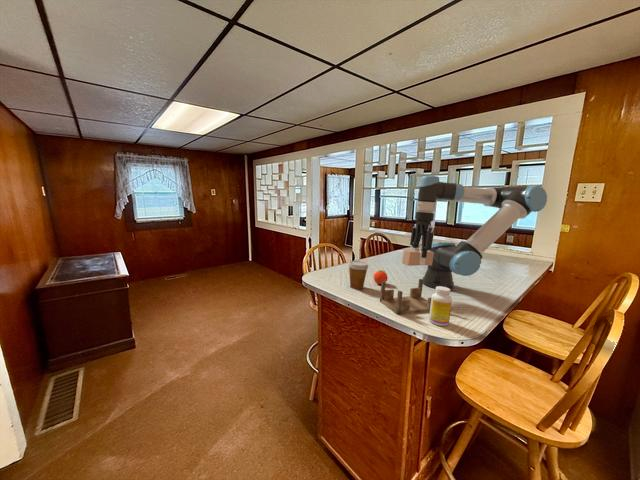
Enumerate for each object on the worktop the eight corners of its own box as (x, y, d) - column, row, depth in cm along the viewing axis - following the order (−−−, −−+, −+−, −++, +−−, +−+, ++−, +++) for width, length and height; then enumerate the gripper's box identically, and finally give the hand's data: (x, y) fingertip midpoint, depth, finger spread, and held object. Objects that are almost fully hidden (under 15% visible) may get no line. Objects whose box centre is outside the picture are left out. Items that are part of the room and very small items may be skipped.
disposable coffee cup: (367, 285, 131) (369, 262, 129) (365, 291, 122) (367, 266, 120) (348, 282, 133) (350, 259, 131) (345, 288, 124) (347, 264, 122)
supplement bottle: (451, 328, 90) (456, 292, 88) (431, 325, 92) (435, 290, 89) (445, 319, 97) (450, 286, 95) (426, 317, 98) (430, 284, 96)
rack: (419, 298, 117) (421, 278, 116) (440, 310, 105) (443, 289, 103) (379, 301, 111) (381, 281, 109) (397, 314, 99) (399, 292, 97)
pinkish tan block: (425, 262, 124) (427, 250, 123) (431, 265, 120) (433, 252, 119) (402, 263, 118) (403, 250, 117) (408, 265, 114) (410, 252, 113)
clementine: (377, 280, 140) (379, 267, 139) (390, 283, 136) (391, 270, 135) (370, 283, 134) (371, 270, 133) (383, 287, 130) (384, 273, 129)
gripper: (406, 210, 123) (399, 258, 126) (431, 212, 106) (423, 268, 110) (419, 211, 125) (413, 258, 128) (446, 213, 108) (438, 268, 112)
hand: (417, 263), depth 119 cm, fingers closed on pinkish tan block, 4 cm apart
